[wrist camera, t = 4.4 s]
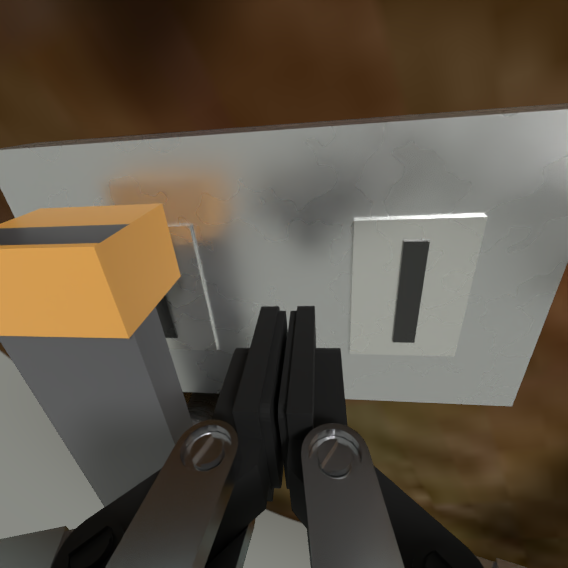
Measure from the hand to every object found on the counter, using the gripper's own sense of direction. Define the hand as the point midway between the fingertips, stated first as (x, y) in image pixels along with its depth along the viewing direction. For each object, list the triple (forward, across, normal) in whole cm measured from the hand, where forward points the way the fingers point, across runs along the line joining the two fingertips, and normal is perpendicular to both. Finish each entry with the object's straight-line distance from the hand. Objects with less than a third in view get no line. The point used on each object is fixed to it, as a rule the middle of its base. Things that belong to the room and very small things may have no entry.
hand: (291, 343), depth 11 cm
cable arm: (+3, +7, +5) cm, 9 cm away
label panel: (+8, +1, +1) cm, 8 cm away
